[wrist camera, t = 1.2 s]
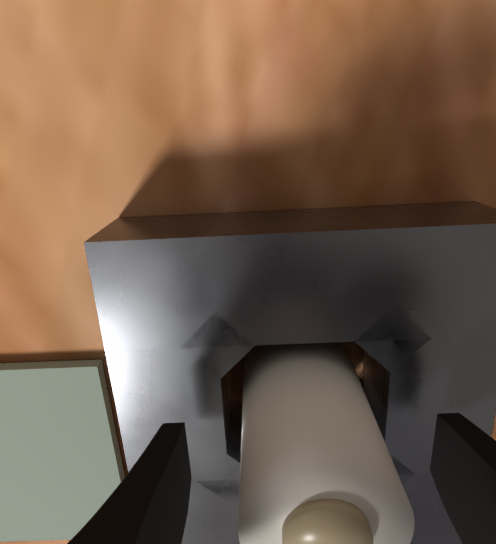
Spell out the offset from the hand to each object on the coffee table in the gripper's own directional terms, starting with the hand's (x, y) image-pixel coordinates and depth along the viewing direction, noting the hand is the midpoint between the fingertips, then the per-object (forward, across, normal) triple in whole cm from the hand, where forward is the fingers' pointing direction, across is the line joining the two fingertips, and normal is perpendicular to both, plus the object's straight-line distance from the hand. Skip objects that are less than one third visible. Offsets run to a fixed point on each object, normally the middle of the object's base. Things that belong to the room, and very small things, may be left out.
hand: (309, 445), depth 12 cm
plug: (+4, 0, 0) cm, 4 cm away
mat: (+4, +11, +4) cm, 13 cm away
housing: (+4, 0, 0) cm, 4 cm away
